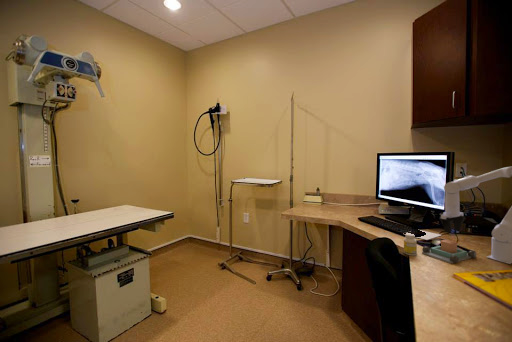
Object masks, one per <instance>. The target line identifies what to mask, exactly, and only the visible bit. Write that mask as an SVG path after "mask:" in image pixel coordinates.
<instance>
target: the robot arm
mask: <svg viewBox="0 0 512 342" xmlns="http://www.w3.org/2000/svg"><path fill="white" fill-rule="evenodd" d="M511 177H512V166H506V167H502V168H499V169H495V170H492V171H490V172H487V173H484V174H481V175H477V176H475V175H464V177H462V178H459V179H457V178H456V179H453V181H449V182H446V183H445V184H444V185H443V189H444V192H445V195H444V199H445V202H444V205H445V207H444V209H445V210H444V212H442V214H440V217H439V221H440V222H441V224H442V226H443V230H444V232H445V233H448V234H451V232H452V226H453V229H454V231H458V232H459V231H461V228H462V224H464V221H465V220H466V217H465V216H464V212H462V211H460V208H461V207H460V206H461V205H460V204H461V203H460V202H461V201H460V199H461V198H460V191H461V192H463V191H466V190H469V189H473V188H476V187H478V186H479V185H480V183H484V182H486V181H490V180H495V179H498V178H508V179H509V178H511ZM491 236H492V237H491V254H490V255H488V256H486V258H487V259H491V260H494V261H497V262H501V263H504V264H508V265H509V264H510V265H511V264H512V205H511V207H510V208H509V209H508V211H507V212H506V214H505V216H504V217H503V219H502V220H501V222H500V223H499V224H498V223H497V224H496V225H495V226H494V228H493V229H492V231H491Z"/></svg>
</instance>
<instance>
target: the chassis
mask: <svg viewBox="0 0 512 342" xmlns="http://www.w3.org/2000/svg"><path fill="white" fill-rule="evenodd" d="M421 254H423V255H425V256H428V257H431V258H433V259H436V260H439V261H442V262H445V263H448V264H450V265H452V264H458V262H459V263H460V262H463V261H467V260H470V259H476V257H477V253H476V251H474V250H468V251H467V250H463V249H460V248H457V253H454V254H451V253H448V252H445V251H441V246H440V245H437V246H434V247H433V246H432V247H429V246H426V245H424V246H423V247H422V252H421Z"/></svg>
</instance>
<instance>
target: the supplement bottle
mask: <svg viewBox="0 0 512 342" xmlns="http://www.w3.org/2000/svg"><path fill="white" fill-rule="evenodd" d="M405 233H406V234H404V235H405V236H404V238H403V253H404V254H406V255H408V256H417V254H418V253H417V252H418V249H417V239H416V237H415V235H414V234H411V233H408V232H405Z"/></svg>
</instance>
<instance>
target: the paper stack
mask: <svg viewBox="0 0 512 342" xmlns="http://www.w3.org/2000/svg"><path fill="white" fill-rule="evenodd" d="M419 230H420V231H422V232H425V233H426V235H424V236H421V237H416V238H417V239H418V238H419V239H422V240H426V241H429V240H431V239H434V238H439V237H440V236H441V237H442V234H440V233H435V232H429V231H427V230H422V229H419Z"/></svg>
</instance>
